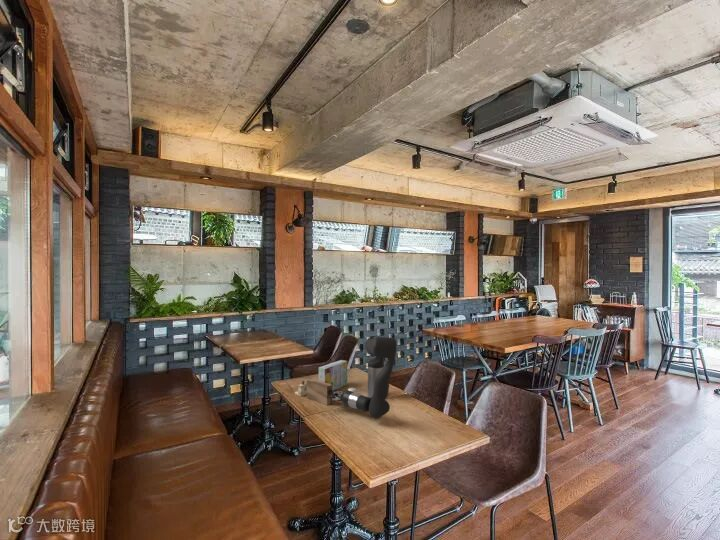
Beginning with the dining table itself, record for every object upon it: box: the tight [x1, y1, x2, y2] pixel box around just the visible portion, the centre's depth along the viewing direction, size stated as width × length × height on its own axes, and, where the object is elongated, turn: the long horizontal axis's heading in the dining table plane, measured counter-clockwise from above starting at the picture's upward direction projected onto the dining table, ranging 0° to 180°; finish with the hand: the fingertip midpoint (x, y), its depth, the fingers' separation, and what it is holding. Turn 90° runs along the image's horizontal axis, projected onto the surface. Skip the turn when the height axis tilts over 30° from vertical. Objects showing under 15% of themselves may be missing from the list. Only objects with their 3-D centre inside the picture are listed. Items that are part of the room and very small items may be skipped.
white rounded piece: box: [347, 387, 358, 393], centre depth 209 cm, size 5×5×6 cm
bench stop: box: [294, 377, 313, 397], centre depth 219 cm, size 11×6×8 cm, turn 139°
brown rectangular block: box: [306, 378, 333, 406], centre depth 207 cm, size 4×16×10 cm, turn 50°
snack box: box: [318, 359, 348, 391], centre depth 227 cm, size 21×6×15 cm, turn 144°
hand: (329, 392), depth 202 cm, fingers closed
